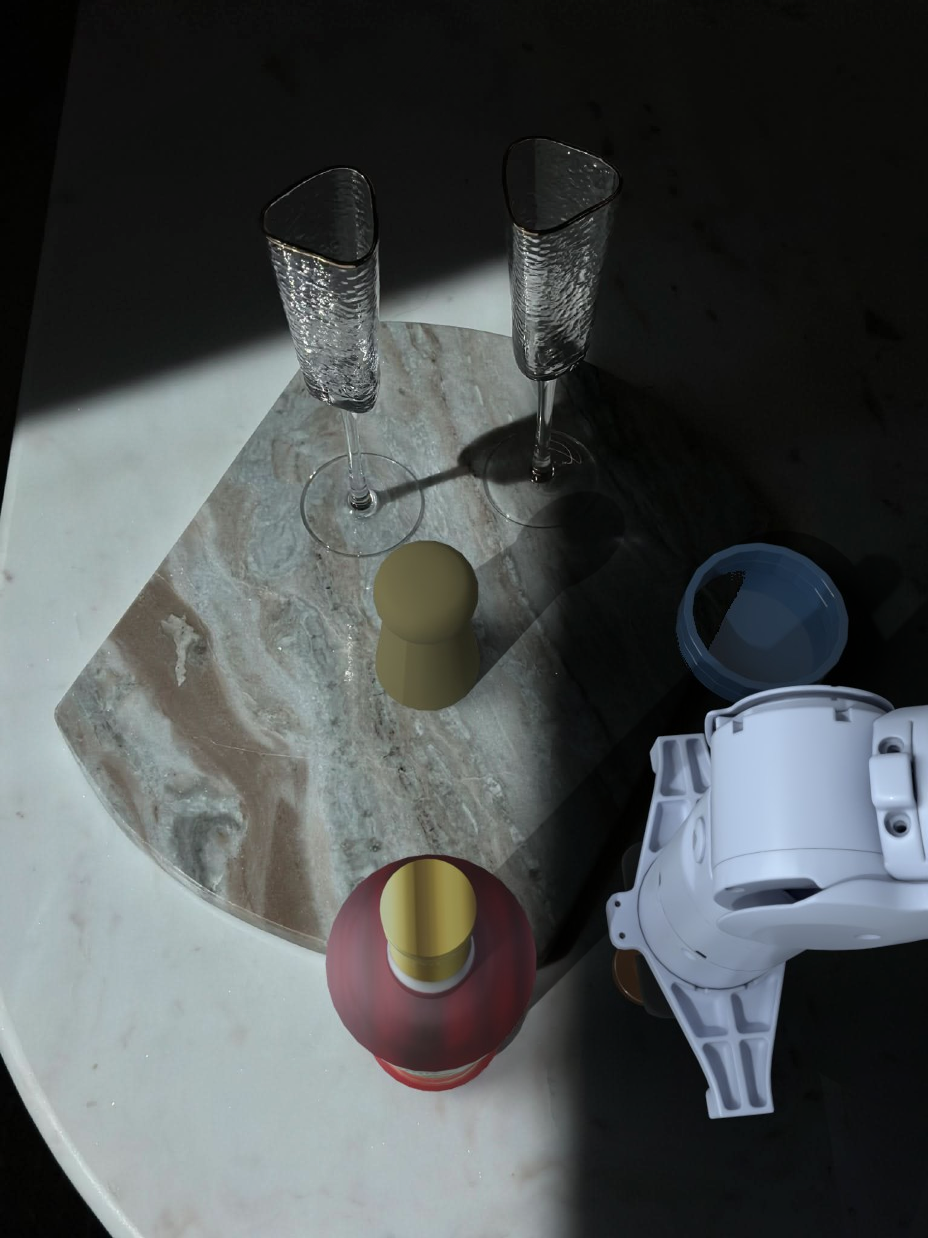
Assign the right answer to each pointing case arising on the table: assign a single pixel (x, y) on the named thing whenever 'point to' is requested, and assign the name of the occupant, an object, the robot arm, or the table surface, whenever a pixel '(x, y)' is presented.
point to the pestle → (627, 974)
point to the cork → (426, 625)
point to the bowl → (766, 623)
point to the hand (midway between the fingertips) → (668, 950)
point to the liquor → (431, 968)
